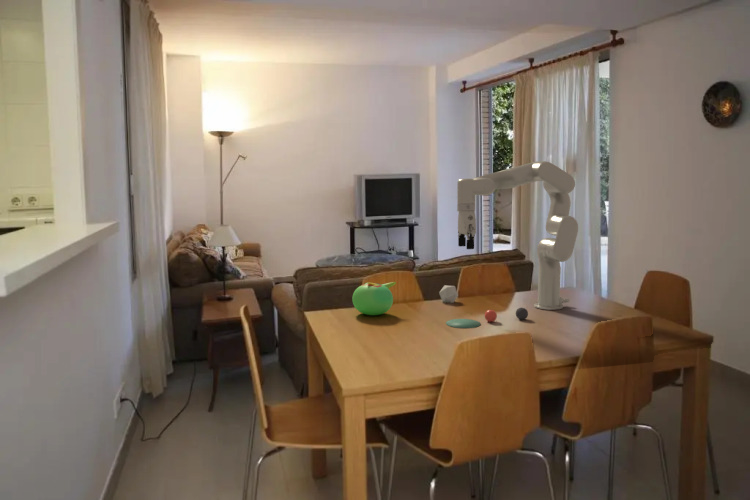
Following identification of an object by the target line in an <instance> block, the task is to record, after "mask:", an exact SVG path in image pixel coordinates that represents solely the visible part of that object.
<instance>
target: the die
mask: <svg viewBox="0 0 750 500" xmlns="http://www.w3.org/2000/svg"><path fill="white" fill-rule="evenodd" d="M438 293H439V296H440V300H441V302H442V303H446V302H447V303H448V304H454V303H455V302H456V299H457V298H458V297H459V294H458V293H459V292H458V291H457V288H456V286H455V285H447V284H446V285H445V284H444V285H443V287H441V289H440V291H439V292H438ZM447 303H446V304H447Z"/></svg>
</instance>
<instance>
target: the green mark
mask: <svg viewBox="0 0 750 500" xmlns="http://www.w3.org/2000/svg"><path fill="white" fill-rule="evenodd" d="M445 324H446V325H447V326H448V327H451V328H455V329H456V328H457V329H474V328H478V327H480V326H481V325H482V324H481V322H480V321H478V320H475V319H469V318H453V319H449V320H447V321H446V322H445Z"/></svg>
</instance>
